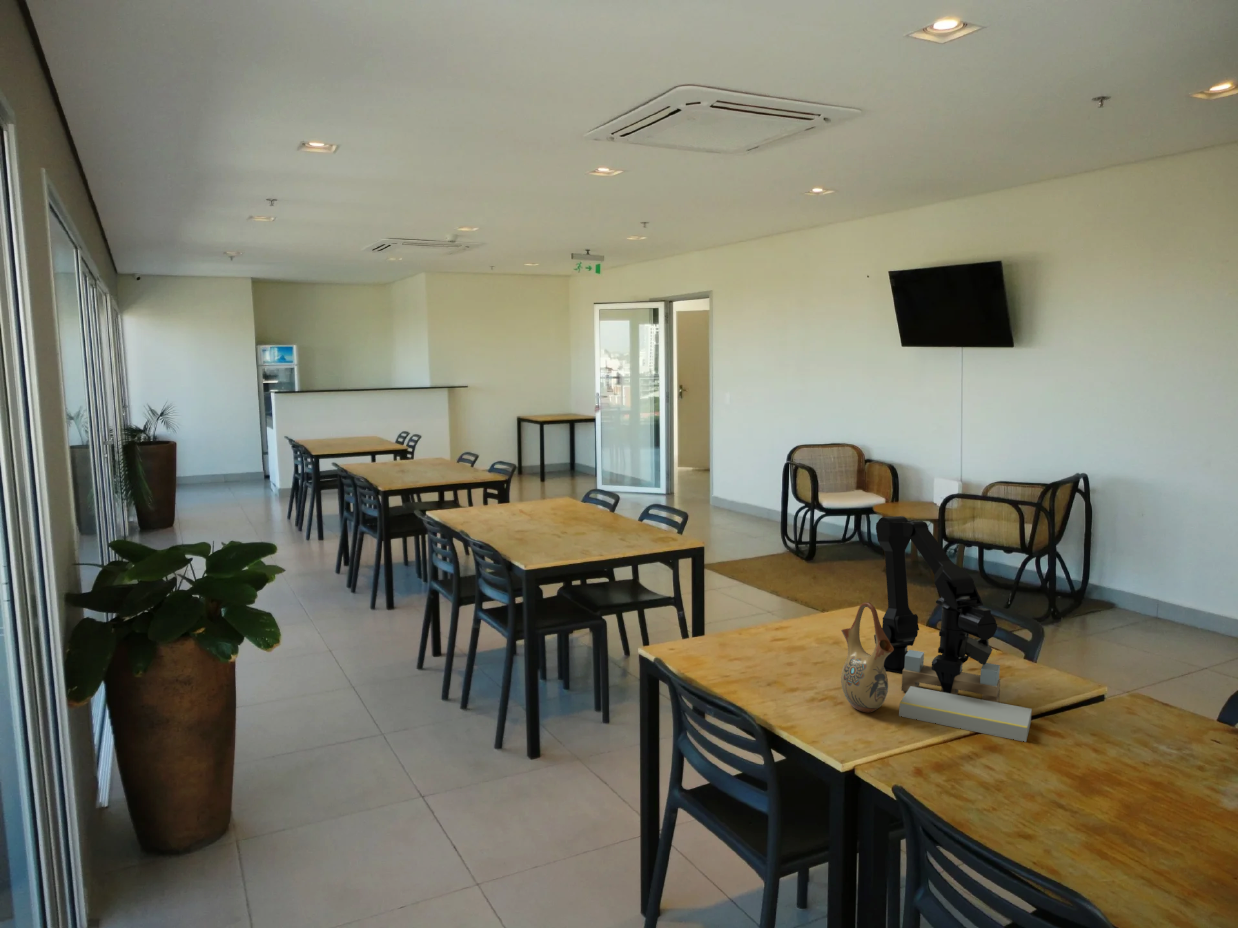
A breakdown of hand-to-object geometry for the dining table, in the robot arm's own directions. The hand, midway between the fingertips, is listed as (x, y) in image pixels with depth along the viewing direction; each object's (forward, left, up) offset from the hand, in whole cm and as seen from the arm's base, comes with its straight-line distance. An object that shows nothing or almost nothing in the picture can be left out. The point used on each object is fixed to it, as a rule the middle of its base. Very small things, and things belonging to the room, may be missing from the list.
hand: (949, 690), depth 207 cm
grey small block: (-8, 0, +4) cm, 9 cm away
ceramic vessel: (-16, -18, -2) cm, 24 cm away
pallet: (0, 0, -1) cm, 1 cm away
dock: (+5, -12, -2) cm, 13 cm away
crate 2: (+9, 0, +4) cm, 9 cm away
